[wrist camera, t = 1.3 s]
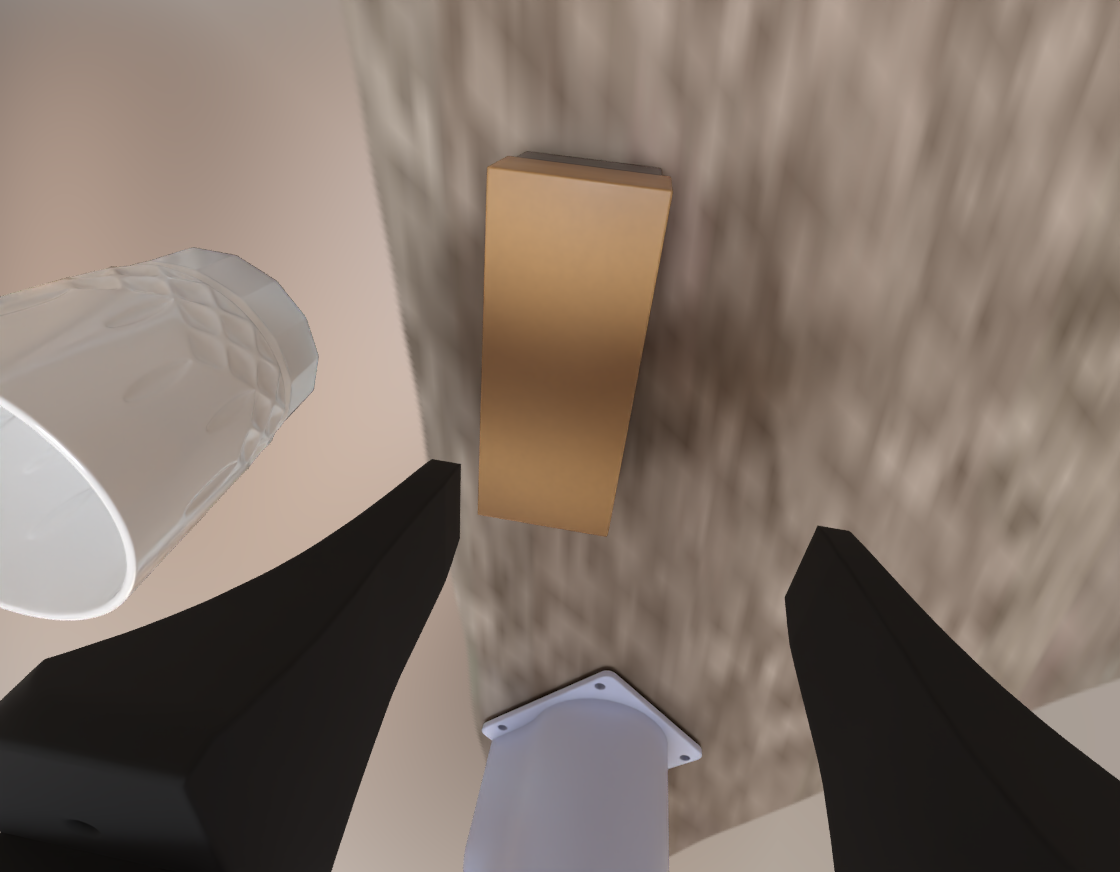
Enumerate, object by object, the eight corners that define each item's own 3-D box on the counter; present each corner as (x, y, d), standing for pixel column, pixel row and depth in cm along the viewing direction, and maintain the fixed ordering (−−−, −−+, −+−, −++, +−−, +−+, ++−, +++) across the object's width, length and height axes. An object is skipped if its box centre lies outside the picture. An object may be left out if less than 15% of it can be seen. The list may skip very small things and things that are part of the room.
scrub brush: (614, 475, 23) (607, 537, 20) (501, 457, 23) (477, 515, 20) (670, 169, 17) (673, 190, 14) (517, 149, 17) (486, 165, 14)
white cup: (377, 380, 22) (200, 572, 13) (242, 455, 25) (28, 650, 16) (223, 183, 19) (-132, 272, 10) (90, 295, 22) (-271, 436, 13)
